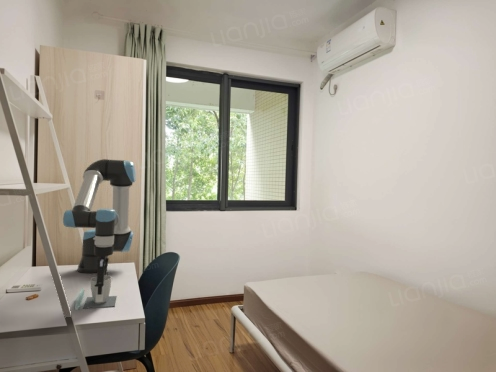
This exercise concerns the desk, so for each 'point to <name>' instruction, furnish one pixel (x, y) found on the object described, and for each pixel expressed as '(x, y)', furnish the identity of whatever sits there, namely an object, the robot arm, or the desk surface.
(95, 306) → the mat
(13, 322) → the desk surface
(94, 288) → the cup
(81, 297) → the wall
